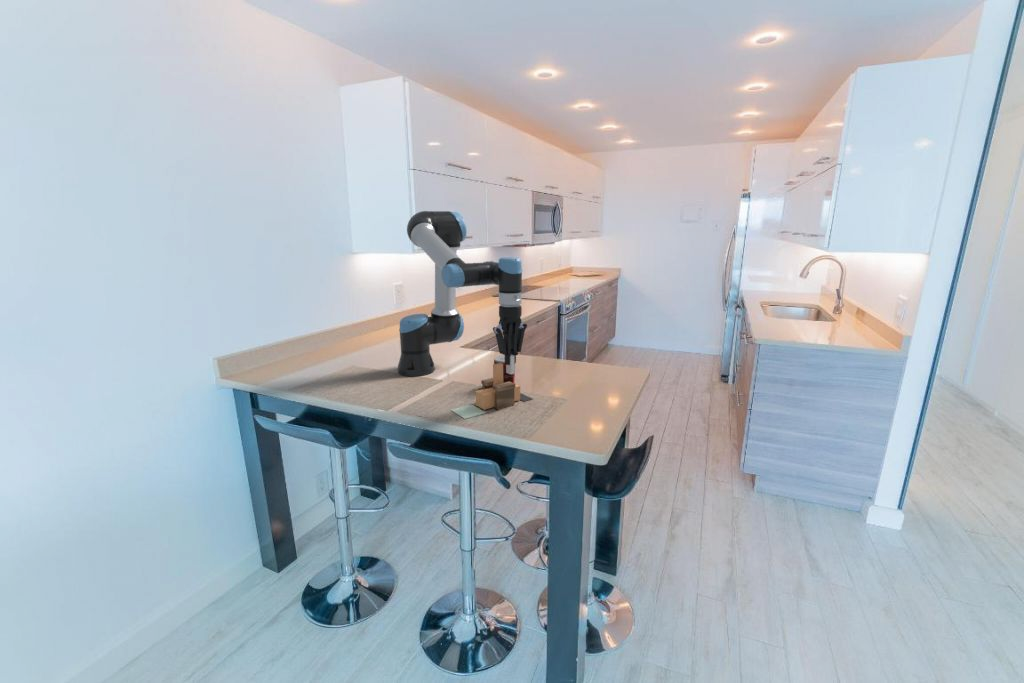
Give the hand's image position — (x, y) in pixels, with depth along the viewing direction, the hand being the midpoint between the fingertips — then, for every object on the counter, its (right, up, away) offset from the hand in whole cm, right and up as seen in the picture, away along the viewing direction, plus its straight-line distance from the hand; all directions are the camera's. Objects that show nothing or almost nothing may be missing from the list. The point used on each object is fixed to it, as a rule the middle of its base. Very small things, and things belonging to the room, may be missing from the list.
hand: (510, 373), depth 160 cm
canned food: (-2, -6, +16) cm, 18 cm away
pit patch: (+4, -9, +5) cm, 11 cm away
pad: (-14, -12, -8) cm, 20 cm away
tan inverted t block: (-4, -10, -1) cm, 11 cm away
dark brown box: (-4, -10, -1) cm, 11 cm away
